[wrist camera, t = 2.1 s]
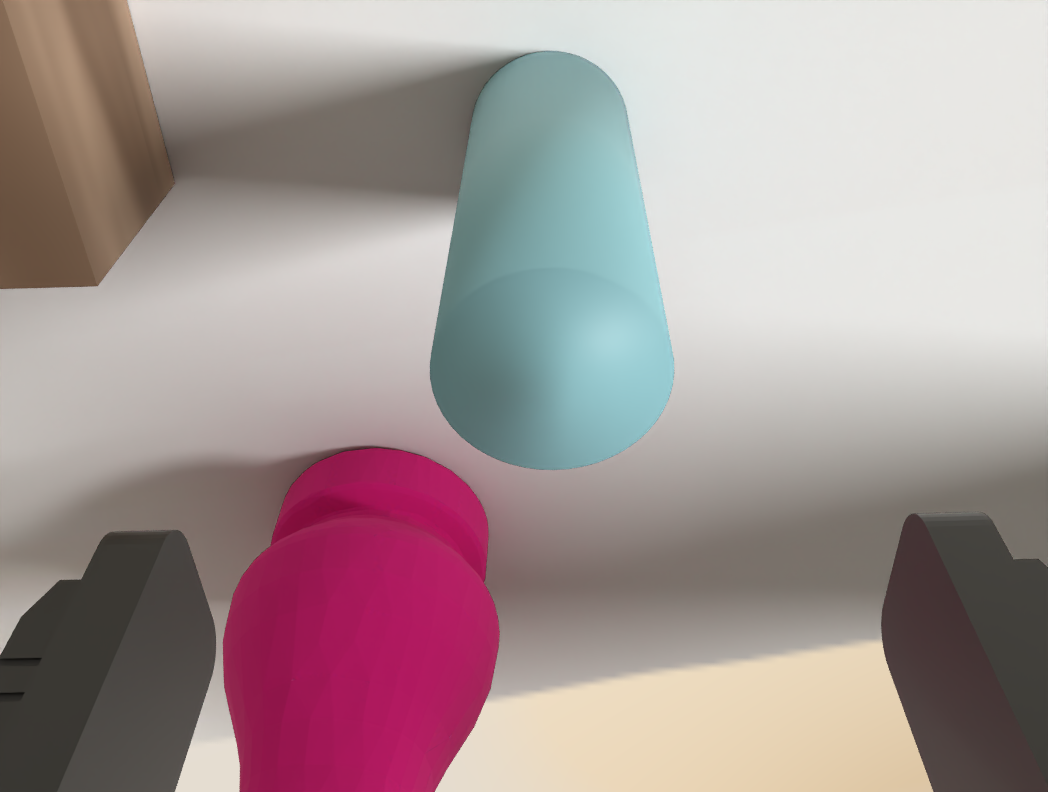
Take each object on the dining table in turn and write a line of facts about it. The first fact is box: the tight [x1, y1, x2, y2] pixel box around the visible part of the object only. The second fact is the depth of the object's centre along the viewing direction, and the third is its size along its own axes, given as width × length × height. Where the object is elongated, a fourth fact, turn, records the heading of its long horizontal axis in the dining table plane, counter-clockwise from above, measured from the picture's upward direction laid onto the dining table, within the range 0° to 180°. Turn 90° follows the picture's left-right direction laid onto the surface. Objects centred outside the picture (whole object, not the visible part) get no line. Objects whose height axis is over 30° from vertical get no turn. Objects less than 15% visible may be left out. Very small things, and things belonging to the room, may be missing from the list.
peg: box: [430, 51, 674, 470], centre depth 19 cm, size 4×4×10 cm
